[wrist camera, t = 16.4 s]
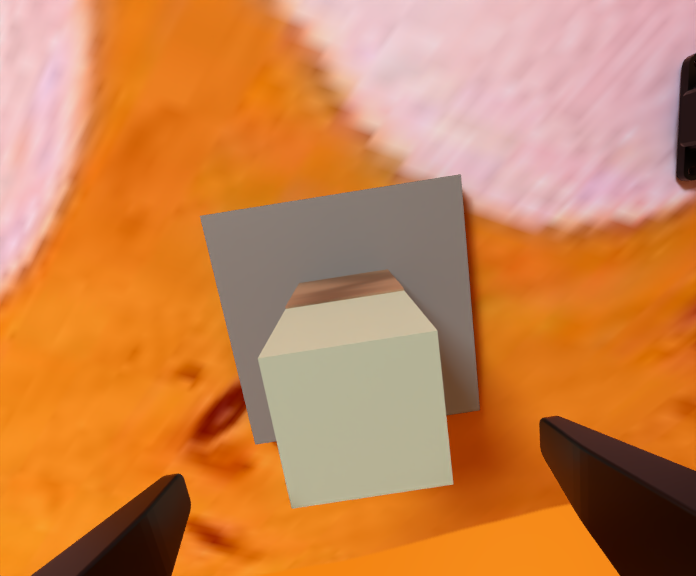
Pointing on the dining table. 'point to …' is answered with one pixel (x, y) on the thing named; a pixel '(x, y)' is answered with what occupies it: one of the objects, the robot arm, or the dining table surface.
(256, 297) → the base board
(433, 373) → the sage cube
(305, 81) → the dining table surface
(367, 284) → the walnut cube
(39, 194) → the dining table surface
